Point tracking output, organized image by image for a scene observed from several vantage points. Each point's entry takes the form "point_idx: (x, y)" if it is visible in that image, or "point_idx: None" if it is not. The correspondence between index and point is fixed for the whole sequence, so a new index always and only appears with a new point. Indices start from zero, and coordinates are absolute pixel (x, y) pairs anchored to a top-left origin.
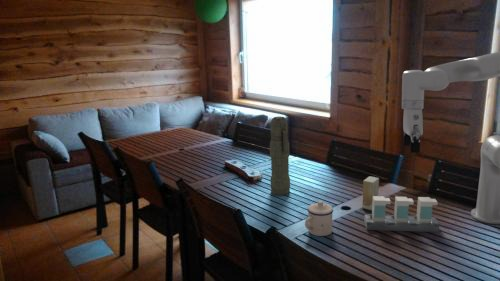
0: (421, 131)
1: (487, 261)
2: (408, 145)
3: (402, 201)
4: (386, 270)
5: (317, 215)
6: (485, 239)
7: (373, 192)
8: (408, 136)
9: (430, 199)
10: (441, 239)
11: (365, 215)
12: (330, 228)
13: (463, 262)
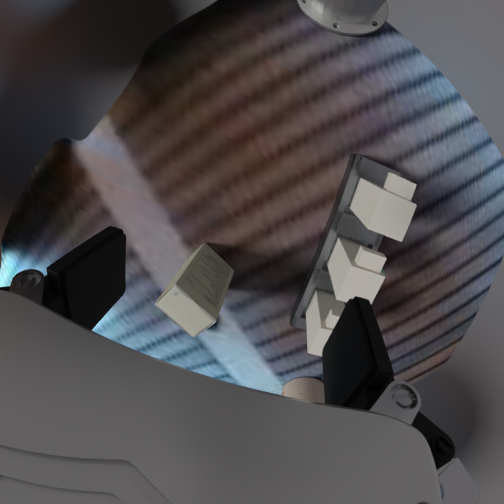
0: (431, 495)
1: (499, 170)
2: (122, 258)
3: (375, 294)
4: (450, 340)
5: None
6: (445, 98)
7: (220, 296)
8: (73, 312)
9: (400, 199)
10: (426, 192)
11: (298, 326)
12: (323, 390)
13: (491, 214)
